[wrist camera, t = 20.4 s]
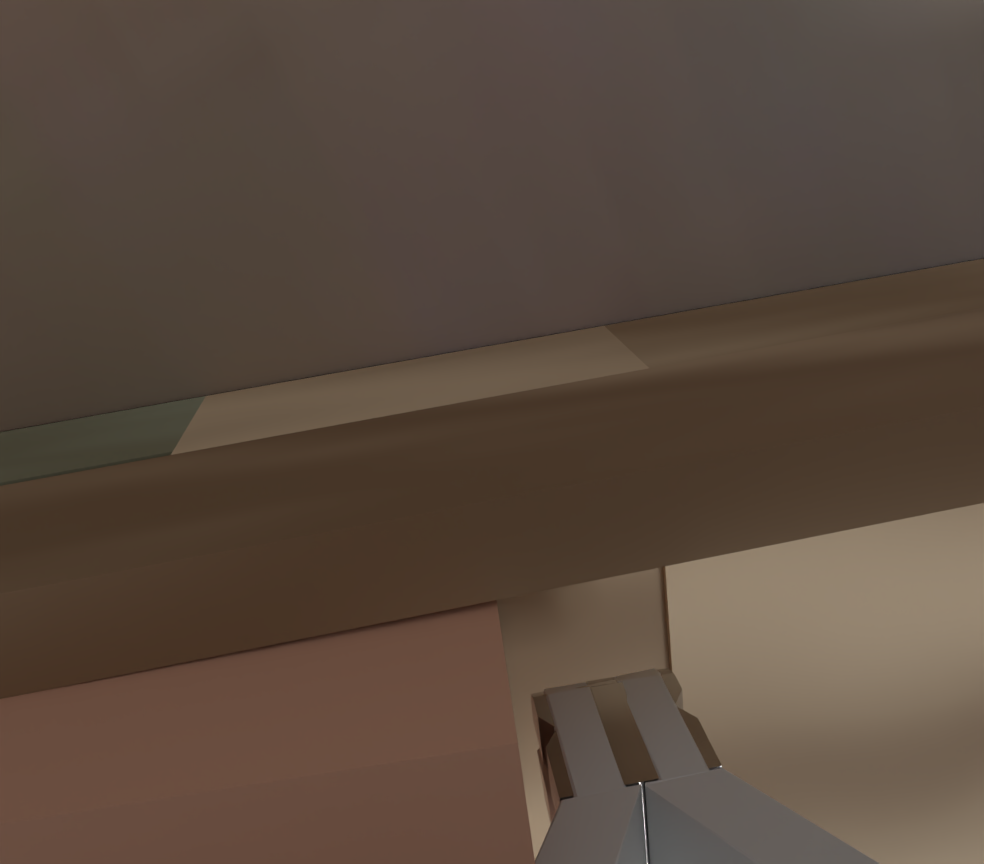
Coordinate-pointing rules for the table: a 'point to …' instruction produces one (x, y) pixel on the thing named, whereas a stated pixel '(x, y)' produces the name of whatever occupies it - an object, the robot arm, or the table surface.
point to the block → (278, 755)
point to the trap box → (579, 534)
